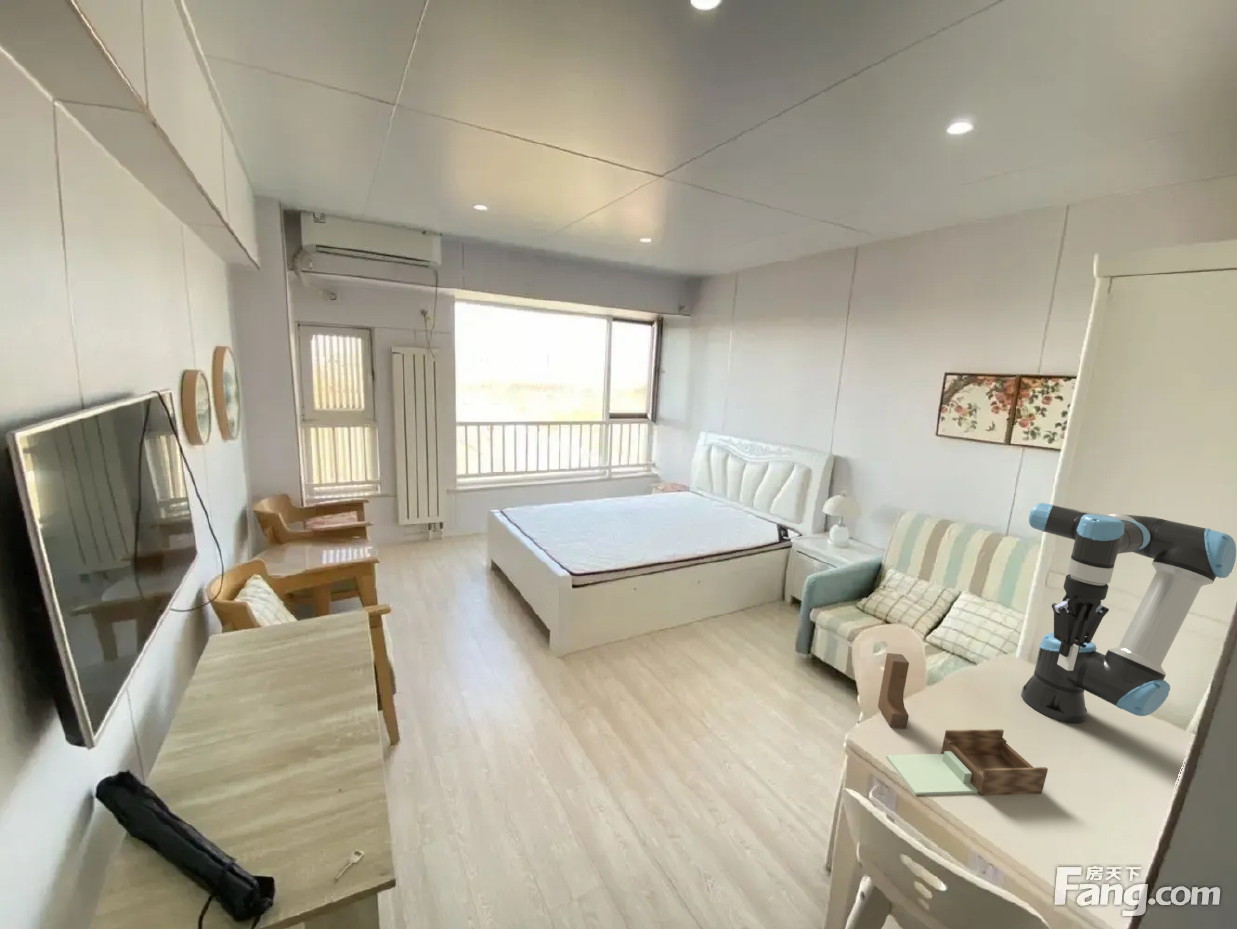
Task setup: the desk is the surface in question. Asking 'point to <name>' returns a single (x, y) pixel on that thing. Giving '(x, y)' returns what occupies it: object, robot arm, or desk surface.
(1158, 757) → the desk surface
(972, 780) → the box
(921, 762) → the lid
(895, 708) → the wooden block
